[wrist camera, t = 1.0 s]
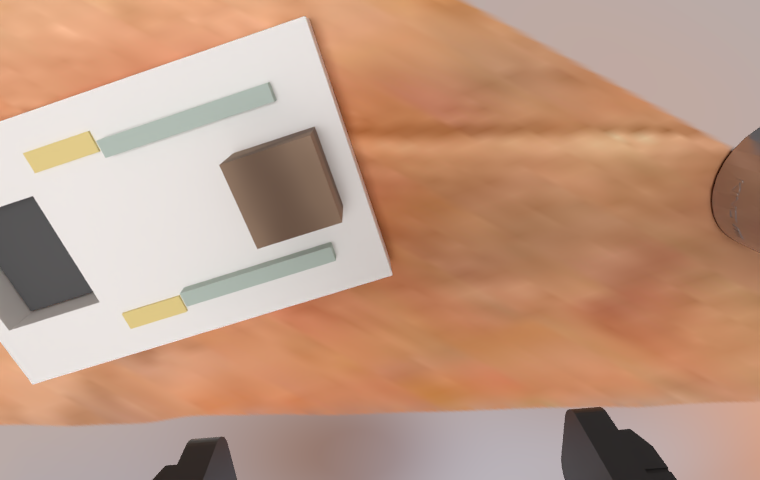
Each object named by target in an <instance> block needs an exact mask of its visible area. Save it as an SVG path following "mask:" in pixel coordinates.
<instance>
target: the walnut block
mask: <svg viewBox="0 0 760 480" xmlns="http://www.w3.org/2000/svg"><path fill="white" fill-rule="evenodd" d="M219 166H220V168H221V170H222V172H223V175H224V177H225V179H226V181H227V183H228V186H229V188H230V190H231V192H232V194H233V197H234V199H235V201H236V203H237V205H238V208H239V210H240V212H241V214H242V216H243V219H244V221H245V223H246V225H247V228H248V230H249V232H250V234H251V236H252V239H253V241H254V243H255V245H256V247H257V249H259V248H262V247H266V246H269V245H272V244H275V243H278V242H282V241H285V240H288V239H291V238H294V237H298V236H301V235H304V234H307V233H310V232H313V231H317V230H320V229H323V228H326V227H329V226H333V225H336V224H339V223H342V218H343V204H342V201H341V198H340V195H339V192H338V190H337V187H336V184H335V181H334V179H333V176H332V173H331V170H330V167H329V165H328V162H327V159H326V156H325V154H324V151H323V148H322V145H321V143H320V140H319V137H318V134H317V131H316V129H315V127H312V128H309V129H305V130H302V131H299V132H296V133H293V134H290V135H287V136H284V137H281V138H278V139H275V140H272V141H269V142H266V143H263V144H260V145H257V146H254V147H251V148H248V149H245V150H242V151H239V152H236V153H233V154H232V155H230V156H229V157H228V158H227V159H226V160H225V161H223V162H222V163H221V164H220V165H219Z"/></svg>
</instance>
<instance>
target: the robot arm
mask: <svg viewBox="0 0 760 480" xmlns="http://www.w3.org/2000/svg"><path fill="white" fill-rule="evenodd" d="M712 207H713V213H714V217H715V219H716V222H717V224H718V226H719V227H720V228H721V230H722V231H723V232H724V233H725V234H726V235H727V236H729V237H730V238H732V239H733V240H735V241H737V242H739V243H741V244H743V245H745V246H747V247H749V248H751V249H753V250H755V251H757V252H759V253H760V128H758V129H757V130H755V131H754V132H753V133H751V134H750V135H748V136H747V137H746V138H745V139H744V140H743V141H742V142H741V143H740V144H739V145H738V146H737V147H736V148H735V149H734V150H733V151H732V152H731V154H730V155H729V157H728V158H727V159H726V161H725V162H724V164H723V166H722V168H721V170H720V172H719V174H718V176H717V179H716V182H715V185H714V189H713V197H712ZM561 462H562V470H563V475H564V478H565V480H677V479H676V478H675V477H674V475H673V474H672V472H669V471H668V467H667V466H666V464H665V463H664V461H663V460H662V459H661V457H660V456H659V455H658V453H657V452H656V450H655V449H654V448H653V446H651V445H650V444H649V443H648V442H646V441H645V440H644V439H642V438H641V437H640V436H638V435H637V434H636V433H635V432H633V431H632V430H631V429H625V430H618V429H617V427H616V426H615V424H614V423H613V421H612V420H611V419H610V417H609V415H608V414H607V412H606V411H605V410H604V409H603V408H601V407H594V408H582V409H569V410H567V412H566V415H565V423H564V434H563V445H562V456H561ZM153 480H237V478H236V474H235V470H234V467H233V462H232V459H231V455H230V451H229V448H228V444H227V441H226V439H225V438H224V437H213V438H201V439H191V440H190V441H189V442H188V443H187V445H186V447H185V449H184V451H183V453H182V455H181V458H180V460H179V462H178V464H177V465H168V466H165V467H164V468H163V469H162V470H161V471H160V472H159V473H158V474H157V475H156V477H155V478H154V479H153Z"/></svg>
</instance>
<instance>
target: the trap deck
mask: <svg viewBox="0 0 760 480" xmlns="http://www.w3.org/2000/svg"><path fill="white" fill-rule="evenodd" d="M312 127H315V129H316V131H317V134H318V137H319V140H320V143H321V145H322V148H323V151H324V154H325V156H326V159H327V162H328V165H329V167H330V170H331V173H332V176H333V179H334V181H335V184H336V187H337V190H338V192H339V195H340V198H341V201H342V204H343V218H342V223H339V224H336V225H333V226H329V227H326V228H323V229H320V230H317V231H313V232H310V233H307V234H304V235H301V236H298V237H294V238H291V239H288V240H285V241H282V242H278V243H275V244H272V245H269V246H266V247H262V248H259V249H257V247H256V245H255V243H254V241H253V239H252V236H251V234H250V232H249V230H248V228H247V225H246V223H245V221H244V219H243V216H242V214H241V212H240V210H239V208H238V205H237V203H236V201H235V199H234V197H233V194H232V192H231V190H230V188H229V186H228V183H227V181H226V179H225V177H224V175H223V172H222V170H221V168H220V166H219V165H220V164H221V163H222V162H223V161H225V160H226V159H227V158H228V157H229V156H230V155H232V154H233V153H236V152H239V151H242V150H245V149H248V148H251V147H254V146H257V145H260V144H263V143H266V142H269V141H272V140H275V139H278V138H281V137H284V136H287V135H290V134H293V133H296V132H299V131H302V130H305V129H309V128H312ZM389 276H392V269H391V263H390V258H389V255H388V252H387V249H386V246H385V243H384V240H383V238H382V235H381V232H380V229H379V226H378V223H377V220H376V217H375V214H374V211H373V208H372V205H371V202H370V199H369V196H368V193H367V190H366V187H365V184H364V181H363V178H362V175H361V172H360V169H359V166H358V163H357V160H356V157H355V154H354V151H353V148H352V145H351V142H350V139H349V136H348V133H347V130H346V127H345V124H344V121H343V118H342V115H341V112H340V109H339V106H338V103H337V100H336V97H335V94H334V91H333V88H332V85H331V82H330V79H329V76H328V73H327V70H326V67H325V64H324V61H323V58H322V55H321V52H320V50H319V47H318V44H317V41H316V38H315V35H314V32H313V29H312V26H311V23H310V20H309V18H307V17H306V16H303V17H301V18H298V19H295V20H292V21H289V22H286V23H283V24H280V25H277V26H275V27H272V28H269V29H266V30H263V31H260V32H257V33H254V34H251V35H249V36H246V37H243V38H240V39H237V40H234V41H231V42H228V43H225V44H223V45H220V46H217V47H214V48H211V49H208V50H205V51H202V52H199V53H196V54H194V55H191V56H188V57H185V58H182V59H179V60H176V61H173V62H170V63H168V64H165V65H162V66H159V67H156V68H153V69H150V70H147V71H144V72H142V73H139V74H136V75H133V76H130V77H127V78H124V79H121V80H118V81H116V82H113V83H110V84H107V85H104V86H101V87H98V88H95V89H92V90H90V91H87V92H84V93H81V94H78V95H75V96H72V97H69V98H66V99H64V100H61V101H58V102H55V103H52V104H49V105H46V106H43V107H40V108H38V109H35V110H32V111H29V112H26V113H23V114H20V115H17V116H14V117H12V118H9V119H6V120H3V121H0V342H1V343H2V345H3V346H4V347H5V349H6V350H7V351H8V353H9V354H10V355H11V357H12V358H13V359H14V360H15V362H16V363H17V364H18V366H19V367H20V368H21V370H22V371H23V372H24V374H25V375H26V376H27V378H28V379H29V380H30V382H31V383H32V384H36V383H39V382H42V381H46V380H49V379H52V378H56V377H59V376H62V375H65V374H69V373H72V372H75V371H79V370H82V369H85V368H89V367H92V366H95V365H98V364H102V363H105V362H108V361H112V360H115V359H118V358H122V357H125V356H128V355H131V354H135V353H138V352H141V351H145V350H148V349H151V348H155V347H158V346H161V345H164V344H168V343H171V342H174V341H178V340H181V339H184V338H187V337H191V336H194V335H197V334H201V333H204V332H207V331H211V330H214V329H217V328H220V327H224V326H227V325H230V324H234V323H237V322H240V321H244V320H247V319H250V318H253V317H257V316H260V315H263V314H267V313H270V312H273V311H277V310H280V309H283V308H286V307H290V306H293V305H296V304H300V303H303V302H306V301H310V300H313V299H316V298H319V297H323V296H326V295H329V294H333V293H336V292H339V291H343V290H346V289H349V288H352V287H356V286H359V285H362V284H366V283H369V282H372V281H375V280H379V279H382V278H385V277H389ZM82 295H83V296H82ZM66 300H67V301H66ZM63 301H64V302H63ZM47 306H48V307H47Z"/></svg>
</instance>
